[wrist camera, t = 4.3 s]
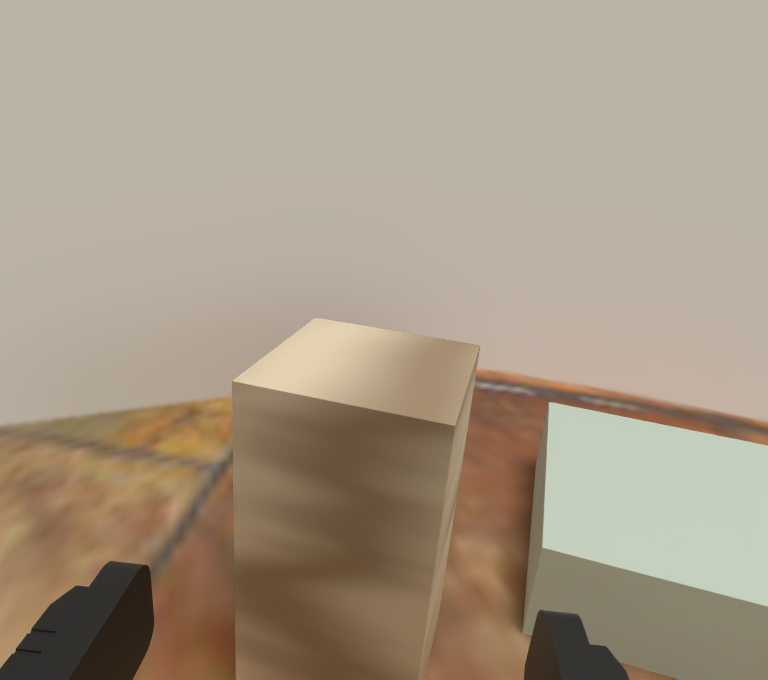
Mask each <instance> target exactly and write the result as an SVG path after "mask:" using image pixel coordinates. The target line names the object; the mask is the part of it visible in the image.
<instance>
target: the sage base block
mask: <svg viewBox="0 0 768 680" xmlns="http://www.w3.org/2000/svg"><path fill="white" fill-rule="evenodd" d="M539 610H547V611H556V612H565V613H574V614H578V615H579V616H580V618H581V620H582V623H583V626H584V629H585V632H586V635H587V638H588V641H589V644H592V645H600V646H606V647H607V648H608V649H609V650H610V652H611V653H612V654H613V655H614V657H615V658H616V659H617V660H618V662H621V663H624V664H627V665H631V666H634V667H638V668H641V669H644V670H648V671H651V672H654V673H658V674H661V675H665V676H668V677H671V678H675V679H678V680H768V446H767V445H762V444H757V443H752V442H747V441H742V440H737V439H732V438H727V437H722V436H717V435H712V434H707V433H702V432H697V431H692V430H687V429H682V428H677V427H672V426H667V425H662V424H657V423H652V422H647V421H642V420H637V419H632V418H627V417H622V416H617V415H612V414H607V413H602V412H597V411H592V410H587V409H582V408H577V407H572V406H567V405H562V404H557V403H552V402H549V405H548V410H547V415H546V419H545V424H544V429H543V434H542V438H541V443H540V448H539V452H538V457H537V462H536V468H535V481H534V494H533V506H532V519H531V532H530V544H529V557H528V570H527V582H526V595H525V608H524V620H523V634H527V635H530V636H532V634H533V629H534V625H535V621H536V617H537V614H538V612H539Z"/></svg>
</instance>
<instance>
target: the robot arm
mask: <svg viewBox="0 0 768 680" xmlns="http://www.w3.org/2000/svg"><path fill="white" fill-rule="evenodd" d="M153 628H154V613H153V600H152V588H151V575H150V569H149V567H148V566H147V565H142V564H132V563H123V562H114V561H110V562H108V563H107V564H106V565H105V566H104V567H103V568H102V569H101V571H100V572H99V574H98V575H97V576H96V578H95V579H94V580H93V582H92V583H91V585H90V586H89V587H84V586H75V587H74V588H72V589H71V590H70V591H68V592H67V593H65V594H64V595H63V596H61V597H60V598H59V599H57V600H56V601H55V602H53V603H52V604H51V605H50V606H49V607H48V608H47V610H46V611H45V612H44V613H43V615H42V616H41V617H40V619H39V620H38V621H37V622H36V624H35V625H34V626H33V627H32V630H31V633H30V634H27V635H26V636H25V638H24V639H23V640H22V642H21V643H20V644H19V645H18V647H17V648H16V652H15V653H14V654H11V656H10V657H9V658H8V660H7V661H6V662H5V663H4V665H3V666H2V667H1V669H0V680H132V679H133V678H134V676H135V674H136V672H137V670H138V668H139V666H140V664H141V662H142V660H143V658H144V656H145V654H146V652H147V650H148V647H149V645H150V641H151V638H152V634H153ZM524 680H629V678H628V675H627V672H626V671H625V669H624V668H623V667H622V665H621V664H620V663H619V662H618V660H617V659H616V658H615V657H614V655H613V654H612V653H611V652H610V650H609V649H608V648H607V647H606V646H600V645H592V644H589V641H588V638H587V635H586V632H585V629H584V626H583V623H582V620H581V618H580V616H579V615H578V614H574V613H565V612H556V611H547V610H539V612H538V614H537V617H536V621H535V625H534V629H533V634H532V638H531V642H530V646H529V650H528V655H527V659H526V664H525V672H524Z"/></svg>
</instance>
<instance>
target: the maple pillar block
mask: <svg viewBox="0 0 768 680" xmlns="http://www.w3.org/2000/svg"><path fill="white" fill-rule="evenodd" d="M479 350H480V346H479V345H474V344H468V343H462V342H456V341H450V340H445V339H438V338H433V337H426V336H421V335H415V334H409V333H403V332H397V331H391V330H385V329H379V328H373V327H367V326H361V325H355V324H350V323H344V322H338V321H332V320H326V319H320V318H315V319H313V320H312V321H311V322H309V323H308V324H307V325H305V326H304V327H303V328H301V329H300V330H299V331H298V332H296V333H295V334H294V335H292V336H291V337H290V338H288V339H287V340H286V341H284V342H283V343H282V344H280V345H279V346H278V347H277V348H275V349H274V350H272V351H271V352H270V353H268V354H267V355H266V356H264V357H263V358H262V359H261V360H259V361H258V362H257V363H255V364H254V365H253V366H251V367H250V368H249V369H247V370H246V371H245V372H243V373H242V374H241V375H239V376H238V377H237V378H236V379H234V380H233V381H232V414H233V494H234V575H235V655H236V680H424V679H425V674H426V670H427V665H428V661H429V656H430V652H431V647H432V643H433V638H434V634H435V629H436V625H437V620H438V616H439V610H440V603H441V597H442V590H443V584H444V577H445V571H446V564H447V558H448V551H449V545H450V538H451V532H452V525H453V519H454V512H455V506H456V499H457V493H458V486H459V480H460V473H461V467H462V460H463V454H464V447H465V441H466V434H467V428H468V421H469V415H470V408H471V402H472V395H473V389H474V382H475V376H476V369H477V362H478V356H479Z"/></svg>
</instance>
